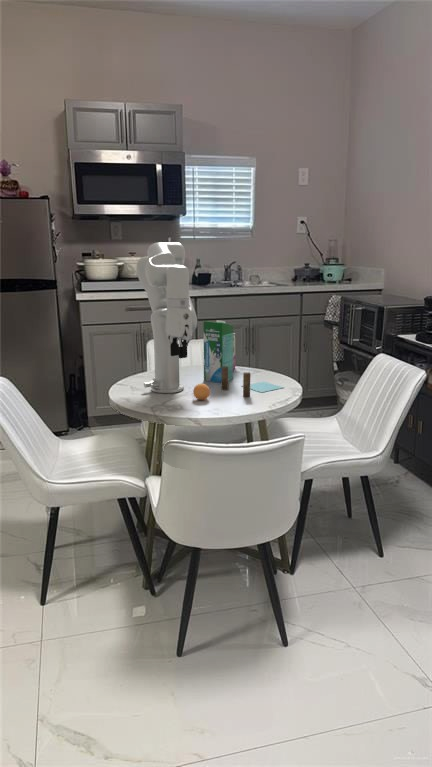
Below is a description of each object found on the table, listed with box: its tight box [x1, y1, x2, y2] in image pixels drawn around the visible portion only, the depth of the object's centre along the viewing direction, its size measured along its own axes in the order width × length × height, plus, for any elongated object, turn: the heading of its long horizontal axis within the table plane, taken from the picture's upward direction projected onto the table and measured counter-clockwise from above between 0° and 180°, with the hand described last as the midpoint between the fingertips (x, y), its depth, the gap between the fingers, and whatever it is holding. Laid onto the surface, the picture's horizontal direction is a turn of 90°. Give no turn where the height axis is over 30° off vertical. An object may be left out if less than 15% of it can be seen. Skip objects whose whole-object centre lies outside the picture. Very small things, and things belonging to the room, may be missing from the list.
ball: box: [192, 383, 211, 401], centre depth 191 cm, size 6×6×6 cm
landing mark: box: [241, 381, 285, 393], centre depth 210 cm, size 12×12×1 cm
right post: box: [242, 371, 251, 398], centre depth 195 cm, size 3×3×9 cm
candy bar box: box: [233, 332, 236, 371], centre depth 237 cm, size 11×5×16 cm, turn 168°
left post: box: [221, 366, 229, 391], centre depth 205 cm, size 3×3×9 cm
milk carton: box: [203, 319, 234, 384], centre depth 219 cm, size 9×9×25 cm
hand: (178, 356), depth 182 cm, fingers open, 4 cm apart
